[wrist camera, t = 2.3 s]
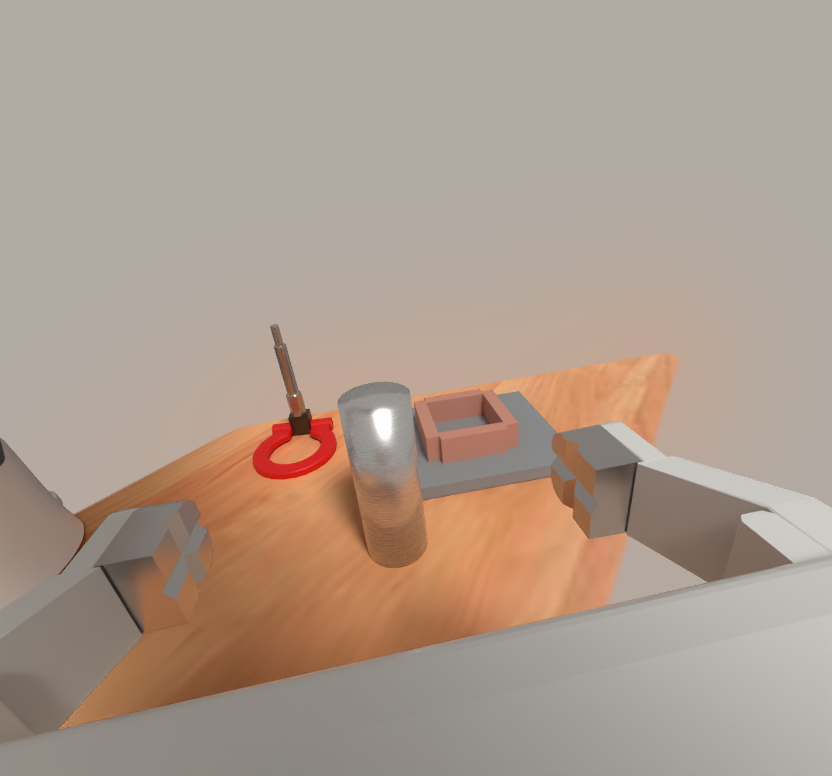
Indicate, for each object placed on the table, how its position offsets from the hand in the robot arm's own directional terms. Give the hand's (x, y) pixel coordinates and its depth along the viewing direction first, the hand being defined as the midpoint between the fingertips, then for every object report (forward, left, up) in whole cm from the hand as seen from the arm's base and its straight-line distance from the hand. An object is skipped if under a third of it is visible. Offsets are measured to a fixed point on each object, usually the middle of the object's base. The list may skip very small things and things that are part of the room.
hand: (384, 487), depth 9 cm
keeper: (+8, +25, -17) cm, 31 cm away
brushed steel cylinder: (0, +14, -17) cm, 22 cm away
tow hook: (-9, +29, -17) cm, 35 cm away
